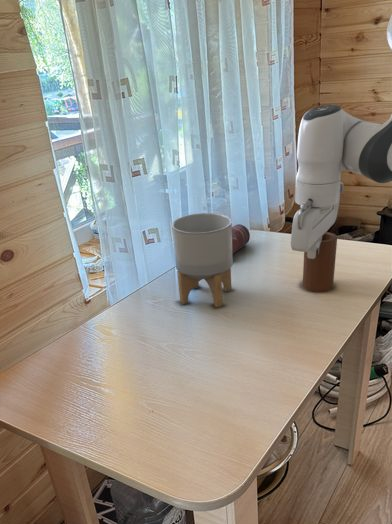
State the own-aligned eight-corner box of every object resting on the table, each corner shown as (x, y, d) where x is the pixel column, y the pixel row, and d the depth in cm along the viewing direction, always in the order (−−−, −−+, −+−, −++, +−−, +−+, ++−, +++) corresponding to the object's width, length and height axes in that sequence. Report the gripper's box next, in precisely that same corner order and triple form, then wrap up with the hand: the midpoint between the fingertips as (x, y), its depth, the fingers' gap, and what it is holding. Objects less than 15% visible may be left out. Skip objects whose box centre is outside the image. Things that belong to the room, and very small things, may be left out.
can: (227, 230, 148) (201, 246, 138) (243, 219, 143) (217, 236, 133) (238, 248, 149) (213, 266, 139) (254, 238, 144) (230, 256, 134)
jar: (336, 282, 123) (341, 233, 116) (327, 293, 118) (331, 243, 111) (308, 277, 126) (311, 230, 120) (298, 288, 121) (300, 239, 115)
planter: (244, 299, 118) (242, 224, 109) (194, 314, 114) (188, 237, 104) (216, 279, 128) (213, 209, 119) (169, 293, 124) (162, 220, 114)
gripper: (315, 209, 97) (311, 277, 104) (346, 181, 112) (340, 242, 119) (284, 206, 100) (282, 272, 107) (317, 179, 114) (313, 239, 122)
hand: (312, 256), depth 113 cm, fingers closed
